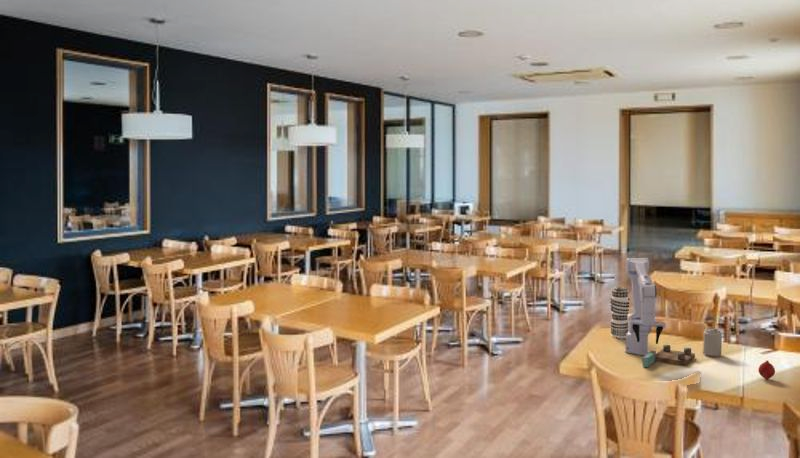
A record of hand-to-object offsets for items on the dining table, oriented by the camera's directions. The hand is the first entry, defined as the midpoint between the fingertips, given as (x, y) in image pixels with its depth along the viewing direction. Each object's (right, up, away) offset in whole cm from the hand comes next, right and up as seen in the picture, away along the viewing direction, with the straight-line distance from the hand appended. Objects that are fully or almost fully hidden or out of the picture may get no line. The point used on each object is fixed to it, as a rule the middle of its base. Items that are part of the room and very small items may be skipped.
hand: (647, 342), depth 291 cm
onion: (+39, -11, -23) cm, 47 cm away
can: (+33, -8, +11) cm, 36 cm away
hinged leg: (+1, -9, 0) cm, 9 cm away
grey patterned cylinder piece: (+3, -5, +47) cm, 47 cm away
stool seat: (+14, -9, +6) cm, 17 cm away
